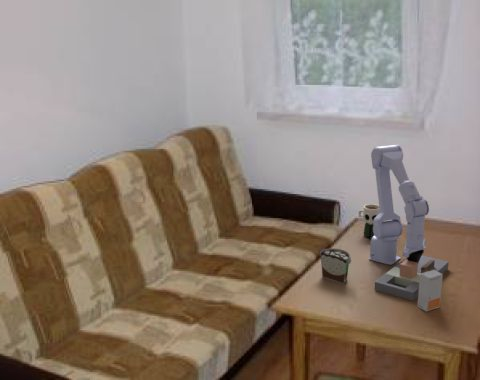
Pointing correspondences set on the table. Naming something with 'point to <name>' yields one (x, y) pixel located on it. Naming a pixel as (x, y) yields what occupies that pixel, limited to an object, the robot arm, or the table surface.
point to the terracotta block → (408, 269)
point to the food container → (335, 264)
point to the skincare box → (430, 290)
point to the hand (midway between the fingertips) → (413, 269)
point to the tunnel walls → (426, 265)
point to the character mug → (369, 218)
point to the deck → (406, 279)
